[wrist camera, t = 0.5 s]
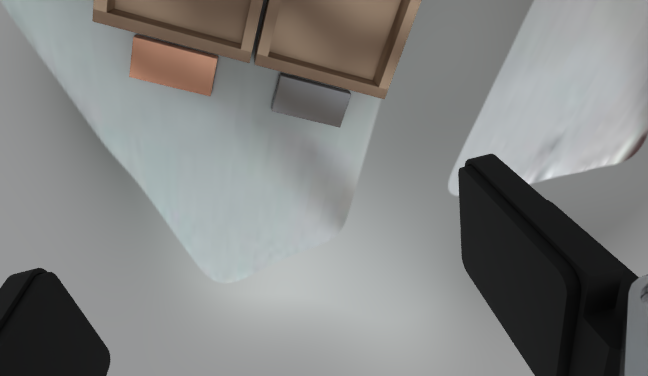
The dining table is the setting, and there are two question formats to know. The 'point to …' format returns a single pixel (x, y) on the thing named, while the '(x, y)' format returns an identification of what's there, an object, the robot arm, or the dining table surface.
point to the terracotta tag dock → (183, 37)
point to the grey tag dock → (331, 52)
